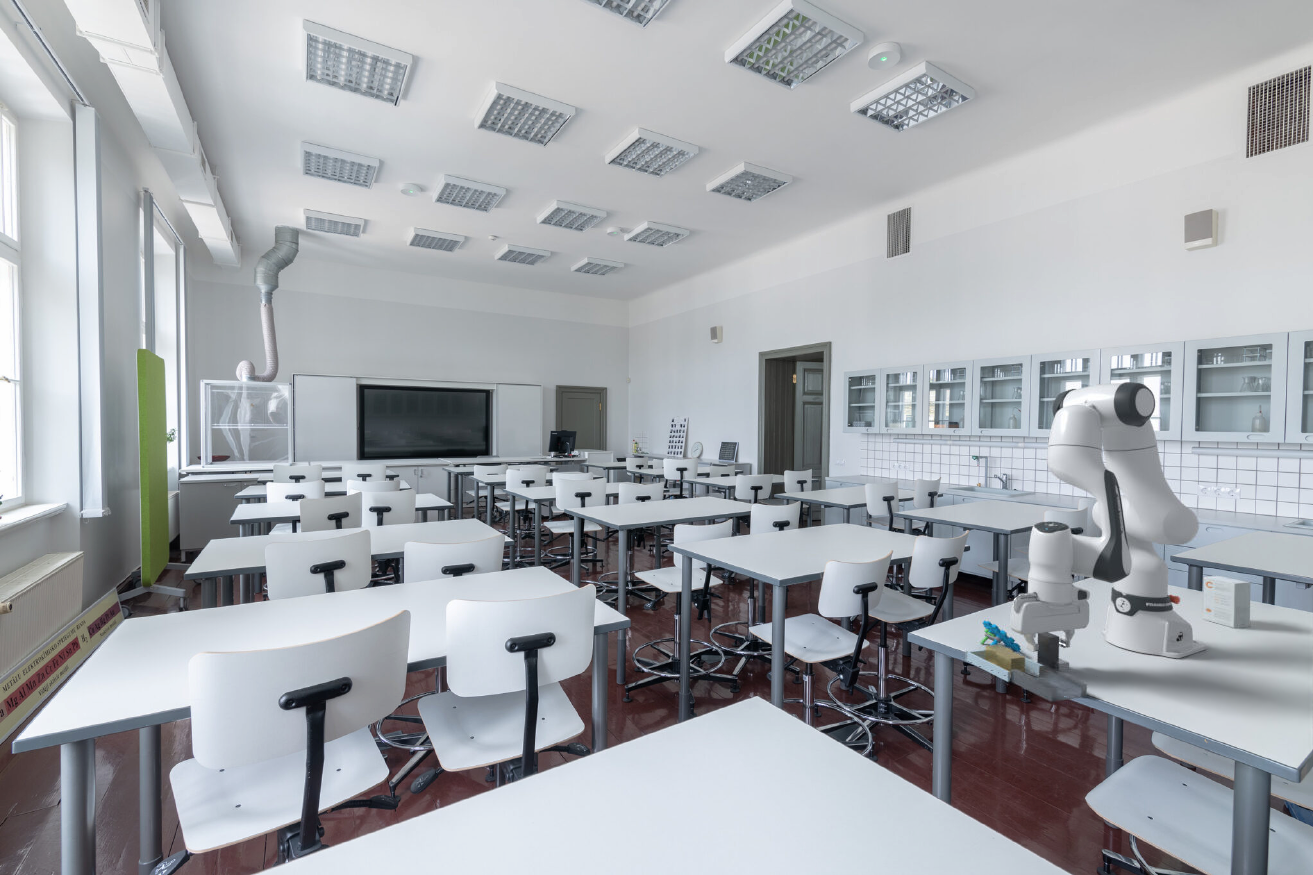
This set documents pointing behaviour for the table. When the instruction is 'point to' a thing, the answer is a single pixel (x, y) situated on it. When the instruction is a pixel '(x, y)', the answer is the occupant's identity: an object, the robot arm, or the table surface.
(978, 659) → the tray
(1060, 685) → the slot rail
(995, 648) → the tan block
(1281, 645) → the table surface
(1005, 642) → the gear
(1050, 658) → the dark grey stepped block
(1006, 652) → the chip
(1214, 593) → the small box
